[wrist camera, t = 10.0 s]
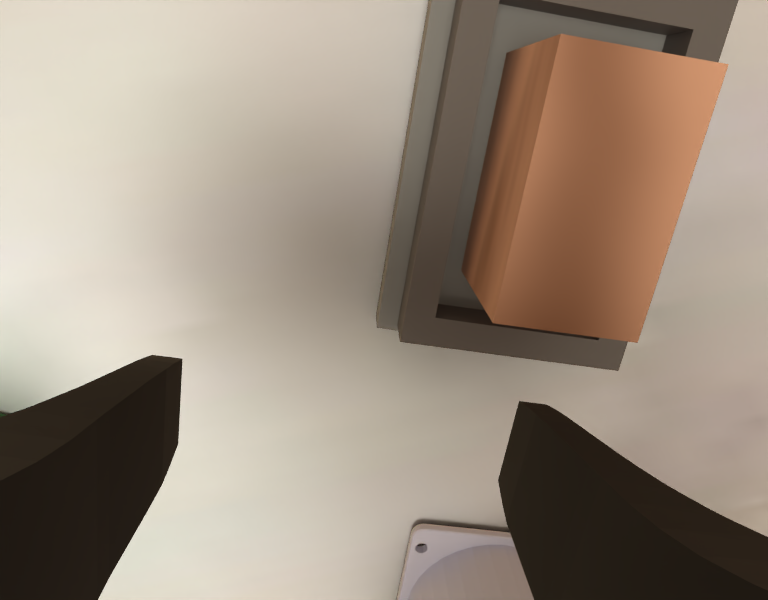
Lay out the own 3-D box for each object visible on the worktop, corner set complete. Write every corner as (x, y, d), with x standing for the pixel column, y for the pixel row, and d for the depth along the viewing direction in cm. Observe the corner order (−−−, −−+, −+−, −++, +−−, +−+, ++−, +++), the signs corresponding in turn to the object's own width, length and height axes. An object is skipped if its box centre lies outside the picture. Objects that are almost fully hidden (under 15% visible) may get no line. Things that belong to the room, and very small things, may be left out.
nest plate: (604, 346, 22) (635, 378, 20) (376, 315, 21) (378, 344, 19) (708, 8, 18) (765, -7, 16) (436, -45, 17) (448, -70, 15)
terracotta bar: (630, 75, 18) (728, 64, 13) (571, 286, 20) (637, 342, 15) (506, 52, 17) (560, 33, 13) (461, 270, 20) (493, 323, 15)
